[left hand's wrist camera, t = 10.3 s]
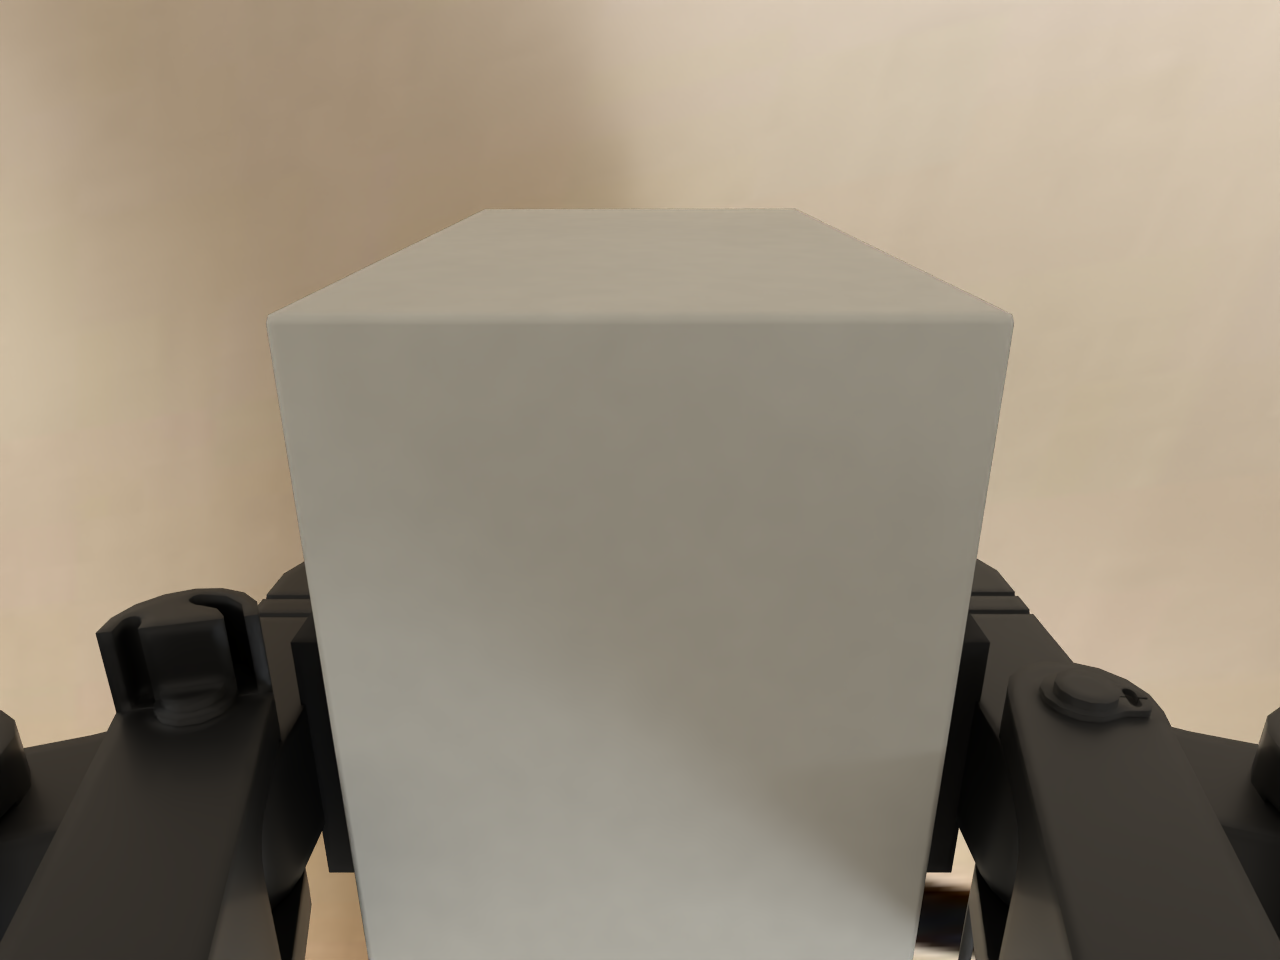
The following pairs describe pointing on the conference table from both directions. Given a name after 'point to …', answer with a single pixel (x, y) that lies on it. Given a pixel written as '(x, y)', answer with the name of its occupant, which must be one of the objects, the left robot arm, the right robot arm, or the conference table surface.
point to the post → (640, 578)
